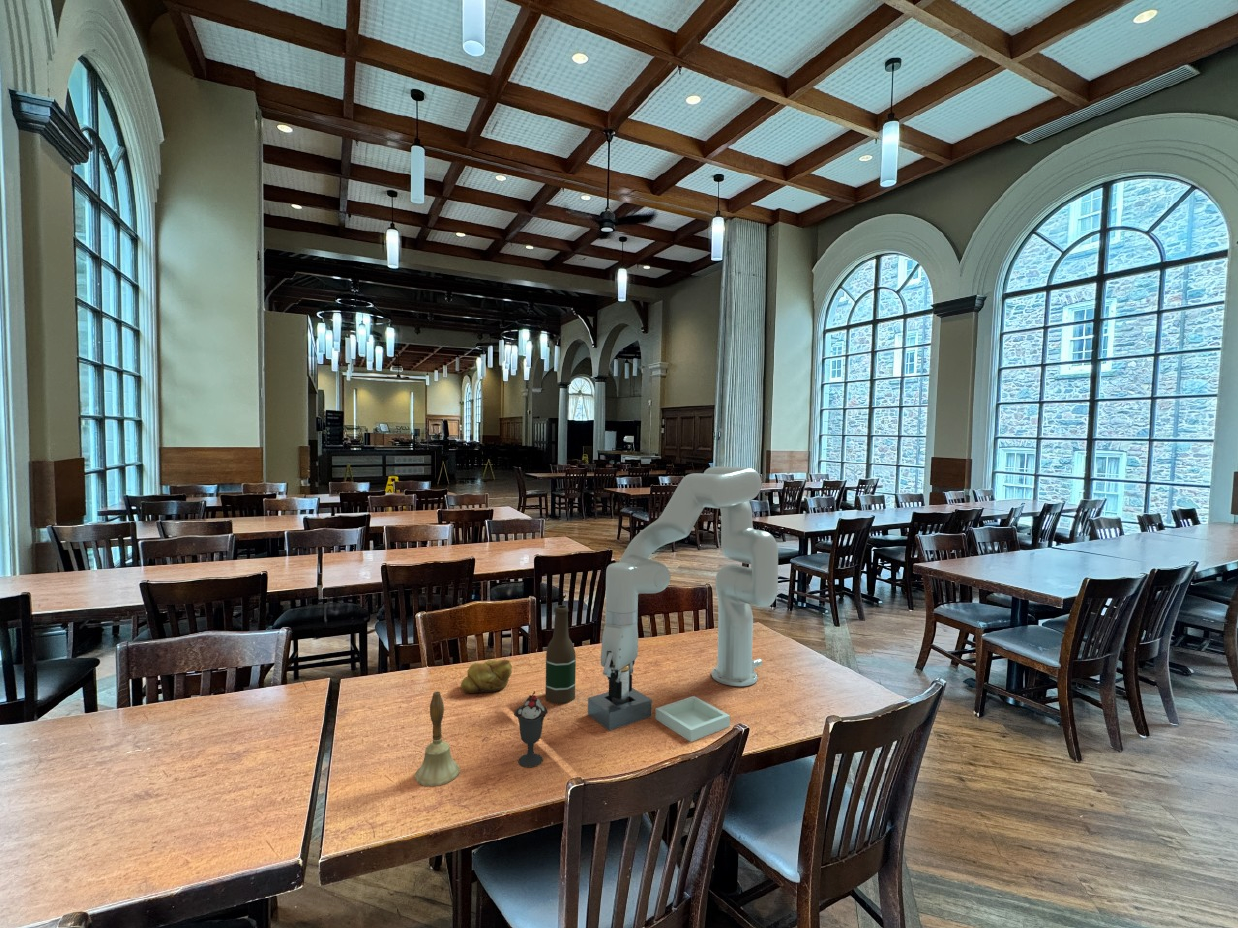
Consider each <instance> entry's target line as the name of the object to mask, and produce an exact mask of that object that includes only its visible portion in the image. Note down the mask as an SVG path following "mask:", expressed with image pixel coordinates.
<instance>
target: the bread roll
mask: <svg viewBox="0 0 1238 928" xmlns="http://www.w3.org/2000/svg"><path fill="white" fill-rule="evenodd" d="M512 672H513V671H512V664H511V660H509V659H500V660H496V659H495V660H494V659H493V660H492V659H491V660H490V659H489V660H486V661H484V663H483V662H482V663H479V662H477V663H476V662H475V663H473V664H471V665H470V667H469V668H468V670H467V676H465V677H464V678H462V681H461V683H460V686H461V689H462V691H463V692H465V693H468V694H469V693H470V694H478V693H481V692H484V693H487V692H488V693H490V692H491V693H492V692H497V691H500V690H502V689H504V688H505V687H506V686H507V684H509V679H510V677H511V676H512Z"/></svg>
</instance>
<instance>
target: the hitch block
mask: <svg viewBox="0 0 1238 928" xmlns="http://www.w3.org/2000/svg"><path fill="white" fill-rule="evenodd" d="M652 705H653V700H652V699H651V698H650V697H649V696H647V695H645V694H644V693H642V692H640V691H639V690H636V689H635V688H633V687H632V691H630V692H629V703H625V704H622V705H619V706H616V705H615V704H613V703H612V697H610V696H609V691H607V692H604V693H600V694H597V695H593V696H590V697H587V716H589V717H590V718H591V719H593V720H594V721H595V722H596V723H598V724H600V725H601V726H602V727H603V728H605V729H606V730H607V731H608V732H609V731H614V730H615V729H620V728H622V727H625V726H628V725H631V724H635V723H637V722H640V721H643V720H646V719H648V718H652V717H653V716H652V712H653V711H652V709H653V707H652Z"/></svg>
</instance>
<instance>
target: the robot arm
mask: <svg viewBox="0 0 1238 928" xmlns="http://www.w3.org/2000/svg"><path fill="white" fill-rule="evenodd" d="M762 483H763V482H762V478H761V475H760V474H759V472H758V471H757V470H756V469H753V468H751V467H742V466H741V467H738V466H723V465H722V466H711V467H708V468H706V469H705V470H704V472H703V473H700V472H699V473H689V474H687V475H685V476H683V478H682V479H681V481H680V482H679V484H678V485H677V488H676V489H675V491H674V492H673V494H672V496H671V498H670V500H669V502H668V503H667V504H666V507H665V508H664V510H663V511H662V512H661V515H660V516H659V517H658V518H657V519H656V520H655V521H653V522H652V523H650V524H649V525H647V526H646V527H644V529H643V530H641V531H640V532H638V534H636V535H635V536H634V537H633V539H632V540H630V542H629V544H628V545H627V547H626V549H625V550H624V552H623V554H622V556H621V558H620V560H619V562H613V563H610V564H608V566H607V567H606V571H605V624H604V625H603V626H604V627H603V632H602V637H601V651H600V665H601V667H603V670H602V675H604V676H606V678H607V681H608V692H609V696H610V697H613V698H616V699H621V698H622V682H621V681H620V677H621V669H622V668H623V667H625V666H626V665H628V664H629V692H630V691H632V688H633V673H634V666H635V662H636V660H637V657H638V654H639V633H638V631H639V629H638V613H639V612H638V610H639V609H638V608H639V607H638V602H639V597H638V596H639V594H657V593H660V592H662V591H664V590H665V589H666V588H668V586H669V585H670V582H671V573H670V570H669V568H668V567H667V566H666V565H665V564H664V563H661V562H659V561H656V560H651V559H649V558H650V557H651V555H652V554H653V553H654V552H655V551H657V550H658V549H660V548H661V547H663V546H665V545H667V544H670V543H673V542H677V541H680V540H682V539H683V540H684V539H685V538H687V537H688V536H690V533H691V532H692V530H693V528H694V526H695V525H696V522H697V521H698V520H699V517H700V515H701V514H702V512H703V510H704V509H705V508H712V509H720V517H721V518H720V519H721V520H720V522H721V527H720V530H721V534H720V537H721V539H720V540H721V541H720V544H721V553H722V555H723V556H724V557H725V559H728V560H730V561H733V562H738V563H742V564H747V565H750V567H747V566H742V565H737V564H727V565H723V566H722V567H720V569H719V570H718V571H717V573H716V575H715V583H714V584H715V591H716V596H717V603H718V604H717V607H718V609H717V610H718V619H717V620H718V621H717V622H718V623H717V625H718V626H717V666H716V667H714V668H713V669H711V677H712V679H713V680H714V681H716V682H718V683H720V684H722V685H726V686H731V687H748V686H749V687H750V686H752V685H754V684H755V683H757V681H758V674H757V672H755V669H756V668H758V667H761V666H762V665H763V660H762V659H761V658H757V659H754V660H753V637H754V636H753V635H754V634H753V633H754V630H753V629H754V628H753V627H754V617H753V610H752V607H751V606H754V607H757V608H758V607H760V608H768V607H770V606H771V605H772V604H773V603H774V602H775V600H776V598H777V595H778V589H779V588H778V585H779V579H778V578H779V548H778V547H779V546H778V544H777V540H776V539H775V537H774V535H773V534H771V533H769V532H768V531H765V530H761V529H760V530H759V529H754V526H753V525H754V524H753V510H752V506H751V502H750V501H752V500H753V499H755V498H756V497H757V496H758V495H759V493H760V491H761V488H762ZM613 664H614V665H615V666H613ZM613 670H615V671H617V673H616V674H615V673H613Z"/></svg>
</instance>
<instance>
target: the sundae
mask: <svg viewBox="0 0 1238 928" xmlns="http://www.w3.org/2000/svg"><path fill="white" fill-rule="evenodd" d="M535 694H536V691H535V690H534V691H533V693H532V695H531V694H529V695H528V698H527V699H525V700H524V703H523V705H520V706H518V707H517V708H516V709H515V711H514V712H513V713H514V717H516V718H517V721H518V725H519V734H520V739H521V741H522V742H524V744H526V745H527V753H525V754H523V755H521V756H520V757H519V758H518V760H517V761H518V764H519V765H520V766H521V767H524V768H535V767H537V766H540V765H541V764H542V762H543V761H544V759H543V756H542V755H540V754H539V753H535V750H534V749H535V746H534V745H535V744H536V743H537V742H539V740H540V739H541V736H542V731H543V724H544V719H545V717H546V715H547V714H548V712H549V711H548V709H547V707H545V706H544V705H543V704H542V703H541V700H540V699H539V698H538V697H537V695H535Z"/></svg>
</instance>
